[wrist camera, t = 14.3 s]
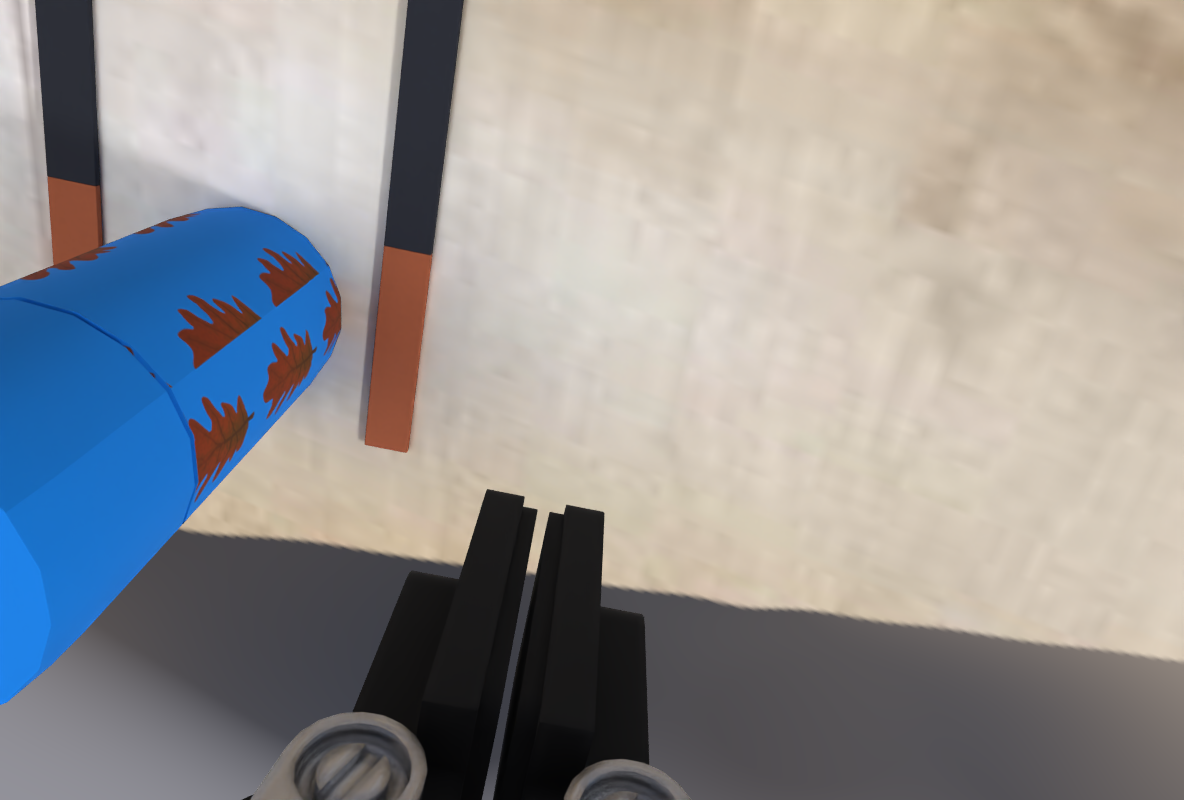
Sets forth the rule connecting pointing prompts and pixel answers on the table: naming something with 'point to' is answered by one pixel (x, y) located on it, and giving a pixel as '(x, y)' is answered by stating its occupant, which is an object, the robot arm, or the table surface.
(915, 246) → the table surface
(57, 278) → the thermos
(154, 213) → the table surface
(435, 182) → the lane
